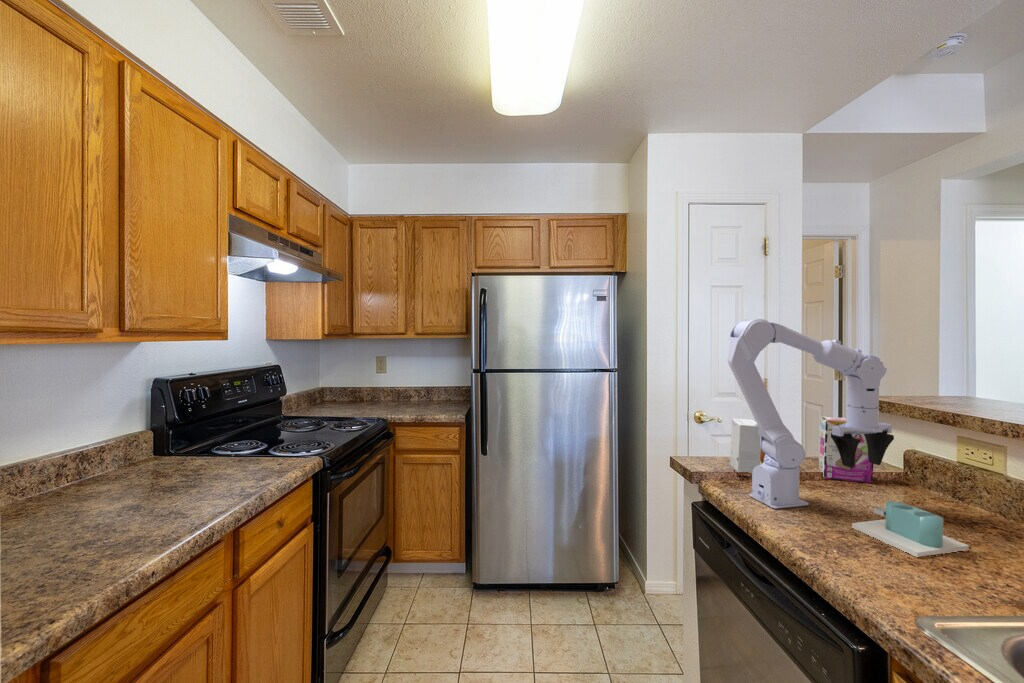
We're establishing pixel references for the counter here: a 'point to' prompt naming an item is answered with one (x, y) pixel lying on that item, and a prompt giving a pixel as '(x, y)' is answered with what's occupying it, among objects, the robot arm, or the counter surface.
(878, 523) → the tile
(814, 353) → the robot arm
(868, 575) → the counter surface
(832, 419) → the candy bar box
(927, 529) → the plug block
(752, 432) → the skincare box
